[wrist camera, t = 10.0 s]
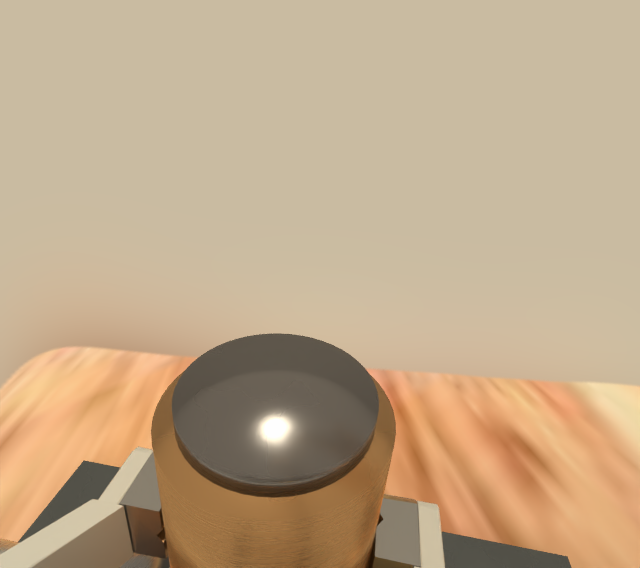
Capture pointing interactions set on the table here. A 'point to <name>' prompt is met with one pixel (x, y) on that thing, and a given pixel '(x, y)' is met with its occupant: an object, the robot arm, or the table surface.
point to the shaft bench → (91, 481)
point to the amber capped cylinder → (272, 456)
